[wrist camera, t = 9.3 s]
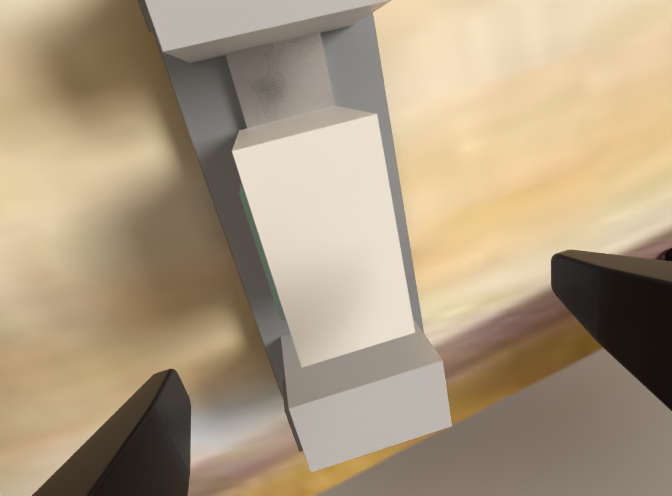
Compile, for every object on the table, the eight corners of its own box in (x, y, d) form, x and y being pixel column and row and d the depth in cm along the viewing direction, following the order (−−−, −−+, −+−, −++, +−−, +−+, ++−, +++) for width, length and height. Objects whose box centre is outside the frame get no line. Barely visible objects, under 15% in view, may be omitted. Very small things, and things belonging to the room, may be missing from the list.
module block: (336, 105, 18) (377, 113, 12) (369, 264, 21) (415, 332, 15) (232, 132, 18) (221, 153, 12) (282, 289, 21) (293, 370, 15)
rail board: (347, -96, 17) (400, -202, 11) (420, 347, 26) (472, 427, 20) (129, -52, 16) (52, -139, 10) (283, 389, 25) (292, 486, 19)
